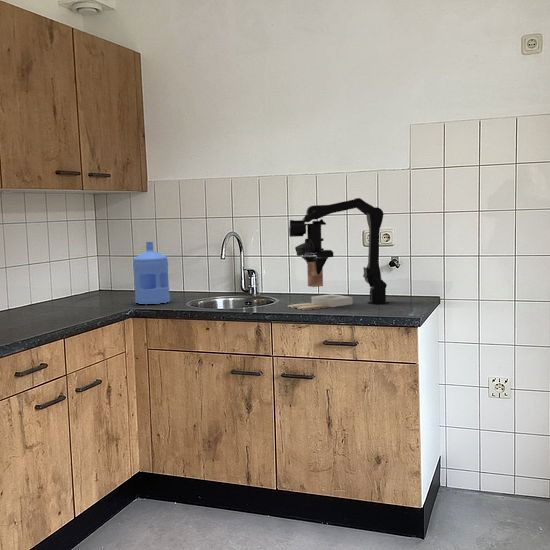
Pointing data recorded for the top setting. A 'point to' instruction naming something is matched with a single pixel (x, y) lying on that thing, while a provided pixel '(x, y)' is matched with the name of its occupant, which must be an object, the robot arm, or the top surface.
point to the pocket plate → (332, 300)
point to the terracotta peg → (314, 275)
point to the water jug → (151, 277)
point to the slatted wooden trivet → (307, 306)
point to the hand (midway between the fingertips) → (315, 273)
